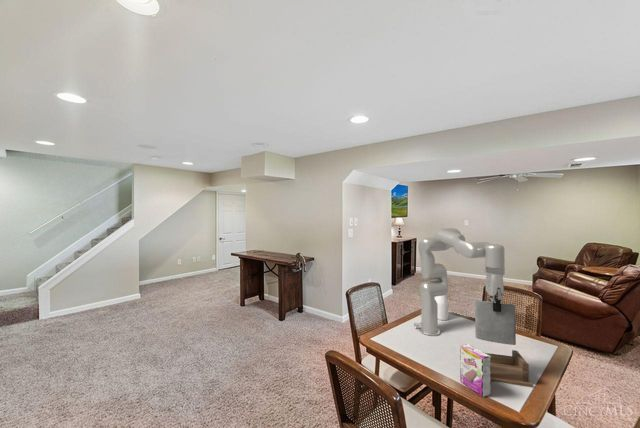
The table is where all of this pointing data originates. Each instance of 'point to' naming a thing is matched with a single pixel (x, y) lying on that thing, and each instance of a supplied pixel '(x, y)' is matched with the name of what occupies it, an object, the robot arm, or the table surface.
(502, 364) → the brown rectangular open tray
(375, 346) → the table surface
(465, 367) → the candy bar box
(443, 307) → the white tall cylinder
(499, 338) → the hip flask
